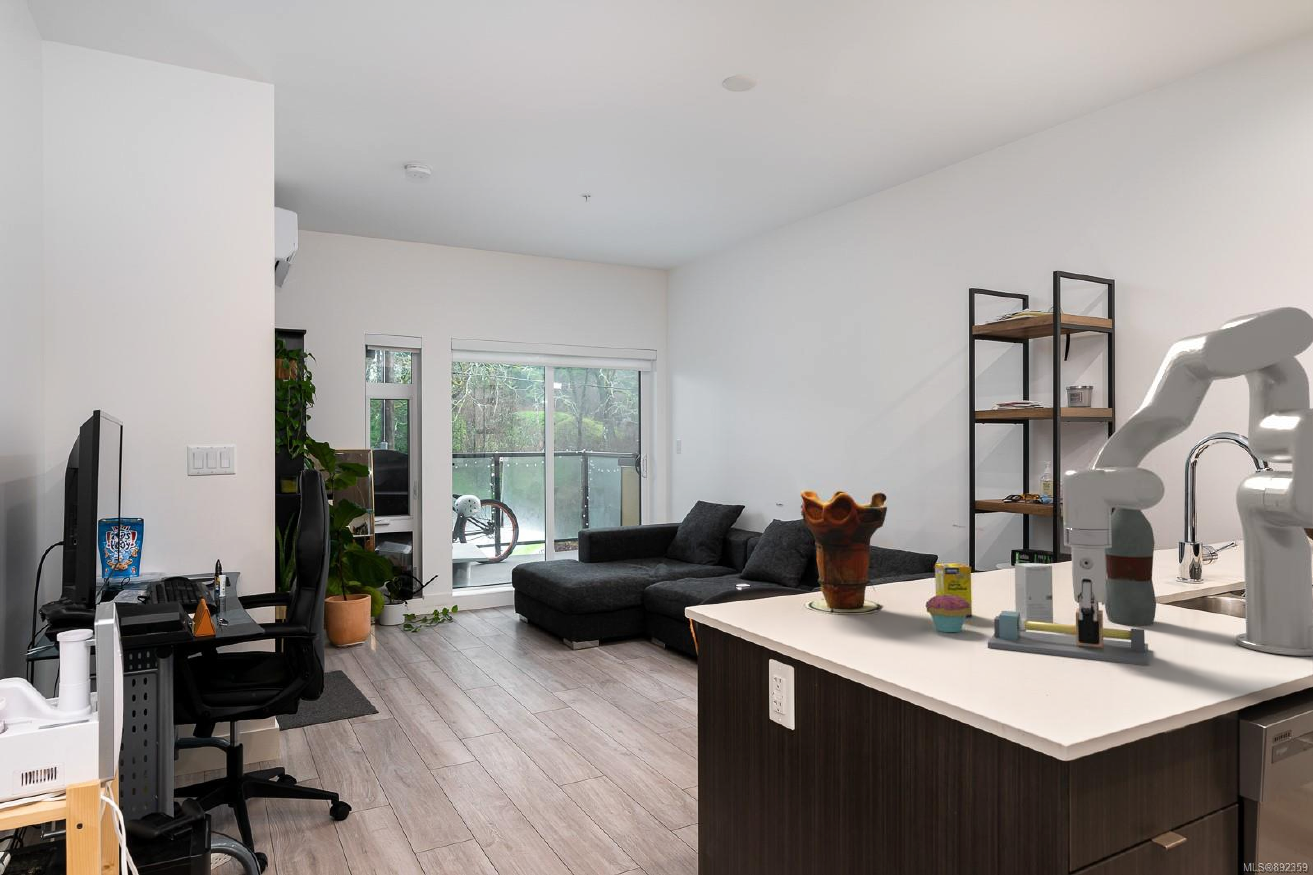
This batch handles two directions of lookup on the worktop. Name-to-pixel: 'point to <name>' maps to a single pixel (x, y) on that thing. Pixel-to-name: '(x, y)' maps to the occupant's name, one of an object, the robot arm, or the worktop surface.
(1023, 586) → the skincare box
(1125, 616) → the bottle
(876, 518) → the decorative vase
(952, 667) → the worktop surface
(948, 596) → the cupcake
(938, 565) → the supplement box
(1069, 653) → the cable board
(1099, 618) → the sleeve
